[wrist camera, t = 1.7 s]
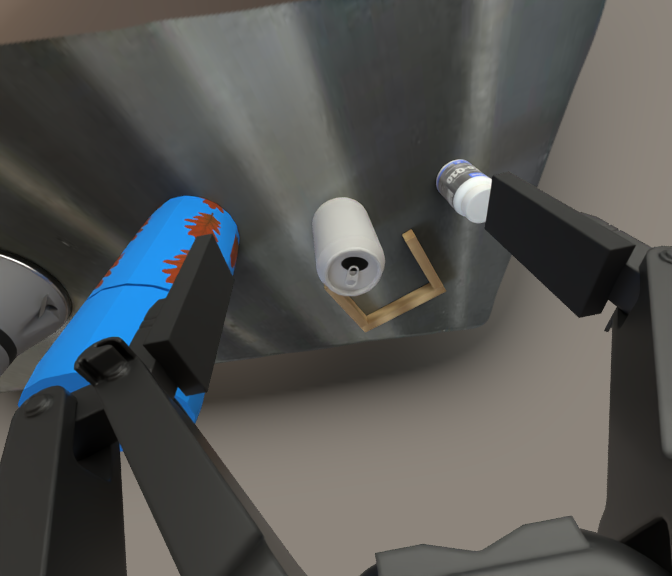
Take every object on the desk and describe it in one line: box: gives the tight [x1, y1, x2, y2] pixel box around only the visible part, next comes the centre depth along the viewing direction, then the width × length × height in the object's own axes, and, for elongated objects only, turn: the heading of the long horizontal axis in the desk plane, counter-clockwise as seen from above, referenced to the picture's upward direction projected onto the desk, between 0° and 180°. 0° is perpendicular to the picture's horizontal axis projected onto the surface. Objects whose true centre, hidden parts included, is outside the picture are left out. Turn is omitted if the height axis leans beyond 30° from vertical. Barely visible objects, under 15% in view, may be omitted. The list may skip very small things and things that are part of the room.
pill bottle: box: [436, 159, 492, 223], centre depth 36 cm, size 5×5×8 cm
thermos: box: [18, 196, 240, 451], centre depth 31 cm, size 11×11×25 cm
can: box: [312, 197, 385, 296], centre depth 37 cm, size 8×8×12 cm
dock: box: [324, 230, 446, 332], centre depth 48 cm, size 15×12×2 cm
